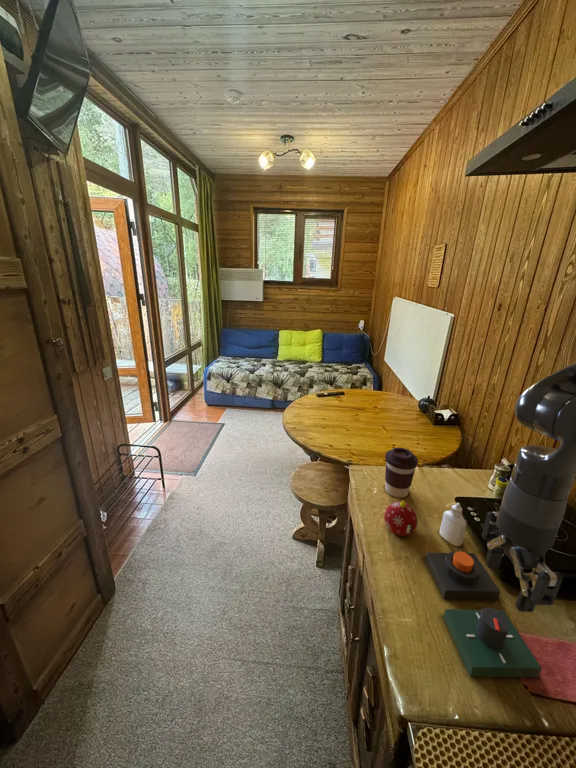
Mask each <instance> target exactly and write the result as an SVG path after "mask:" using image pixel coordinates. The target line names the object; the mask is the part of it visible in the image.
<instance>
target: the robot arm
mask: <svg viewBox="0 0 576 768" xmlns="http://www.w3.org/2000/svg"><path fill="white" fill-rule="evenodd" d="M513 410H514V411H513V413H514V417H515V419H516V421H517V422H518V424H519V425H521V426H522V427H524V428H526V429H528V430H530V431H533V432H535V433H537V434H540V435H543V436H545V437H547V438H550V439H552V440H554V441H557V442H559V445H558V448H556V447H550V446H546V445H541V444H526V445H523V446H522V447H521V448H519V450H518V452H517V454H516V458H515V460H514V464H513V467H512V471H511V473H510V474H511V475H510V478H509V480H508V482H507V484H506V487H505V488H504V493H503V496H502V500H501V503H500V506H499V510H498V511H488V512H486V517H485V521H484V525H483V527H482V528H483V529H482V532H481V538H482V539H483V540H486V542H487V543H486V547H487V552H486V556H485V566H486V567H487V568H488V569H499V568H500V567H501V563H502V559H503V557H504V554H505V555H506V556H507V557H508V558H509V560H510V561H511V563H512V565H513V567H514V574H515V577H516V578H517V579H519V585H520V590H519V593H518V596H517V598H516V601H515V604H514V606H515V608H516V610H517V611H518V612H523V613H533V612H534V611H535V609H536V606H553V605H554V603H555V600H556V598H557V594H558V593H559V590H560V588H561V584H562V583H563V575H562V574H561V573H560V572H559V571H553V570H551V569H550V568H549V567H548V565H547V564H546V553H547V552H548V551H549V550H551V548H552V547H553V546H554V544H555V541H556V538H557V535H558V533H559V530H560V527H561V524H562V522H563V520H564V519H563V518H564V516H565V513H566V509H567V501H568V497H569V495H570V492H571V490H572V486H573V485H574V484H573V483H574V481H575V478H576V360H575V361H573V362H572V363H571V364H568V365H565V366H564V367H562V368H560V369H558V370H557V371H555V372H553V373H551V374H549V375H547V376H546V377H544V378H542V379H539V380H538V381H536V382H535V383H533V384H532V385H530V386H529V387H527V388H526V389H525V390H524V391H523V392H522V393H521V394H520V396H519V397H518V398H517V400H516V402H515V404H514V409H513ZM491 531H492V532H491ZM527 569H528V570H530V569H531V570H532V571H531V572H524V570H527ZM529 581H531V584H532V587H529V586H530V585H529Z"/></svg>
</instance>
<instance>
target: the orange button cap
mask: <svg viewBox="0 0 576 768" xmlns="http://www.w3.org/2000/svg"><path fill="white" fill-rule="evenodd" d="M454 552H455V553H454V557H453V565H454V567H455V568H457V569H458V570H459V571H462V572H464V573H470V572H471V571H472V568H473V565H474V561H473V559H472V557H471V556H469V555H468V554H466V553H467V552H465V551H454Z"/></svg>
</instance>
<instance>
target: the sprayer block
mask: <svg viewBox="0 0 576 768" xmlns="http://www.w3.org/2000/svg"><path fill="white" fill-rule="evenodd" d="M455 552H456V551H450V552H425V555H424V562H425V564H426V566H427V568H428V569H429V571H430V574H431V576H432V578H433V580H434V582H435V585H436V586H437V588H438V590H439V592H440V594H441V597H442V599H445V600H446V599H448V600H451V599H452V600H453V599H454V600H455V599H456V600H461V599H462V600H499V598H500V594H501V590H500V588H499V587H498V586H497V584H496V583H495V581H494V580H493V579H492V577H491V576H490V573H488V571H487V569H486V568H485V567H484V565H483V564H482V563H481V561H480V559H479V558H478V557H477V555H476V553H474V552H465V553H466V554H468V555H469V556H471V557H472V559H473V561H474V565H473V568H472V571H471V572H470V573H464V572H462V571H459V570H458V569H457V568H455V567H454V565H453V557H454V553H455Z"/></svg>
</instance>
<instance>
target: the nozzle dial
mask: <svg viewBox="0 0 576 768" xmlns="http://www.w3.org/2000/svg"><path fill="white" fill-rule="evenodd" d="M481 610H482V611H481V614H480V618H479V621H478V625H477V628H476V631H477V634H478V636H479V638H480V639H481V641H482V642H483V643H485V644H486V645H487V646H489V647H491V648H493V649H500V648H502V647H503V645H504V642H505V639H506V636H507V633H508V631H509V623H508V621H507V619H506V618H505V617H504V616H503V615H502V614H501V613H500V612H499V611H497V610H498V609H495V608H493V607H484V608H482V609H481Z"/></svg>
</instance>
